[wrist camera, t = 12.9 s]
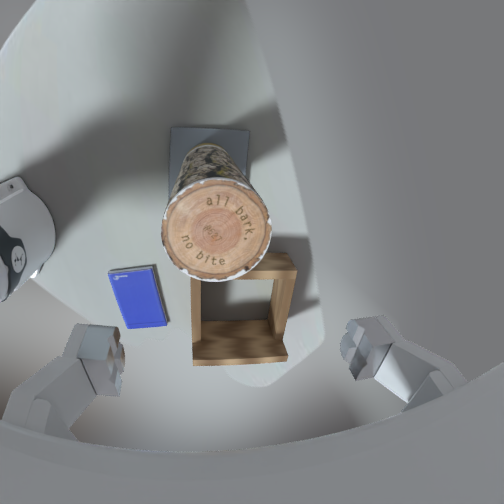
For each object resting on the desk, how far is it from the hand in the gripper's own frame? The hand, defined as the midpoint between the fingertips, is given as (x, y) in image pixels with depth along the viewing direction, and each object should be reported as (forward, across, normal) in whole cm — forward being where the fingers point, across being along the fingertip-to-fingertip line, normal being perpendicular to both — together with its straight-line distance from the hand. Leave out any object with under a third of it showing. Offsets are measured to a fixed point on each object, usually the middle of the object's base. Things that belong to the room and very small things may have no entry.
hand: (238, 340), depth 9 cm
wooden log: (+34, 0, 0) cm, 34 cm away
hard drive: (+36, +12, +24) cm, 44 cm away
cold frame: (+35, -6, +22) cm, 42 cm away
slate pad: (+35, 0, 0) cm, 35 cm away
